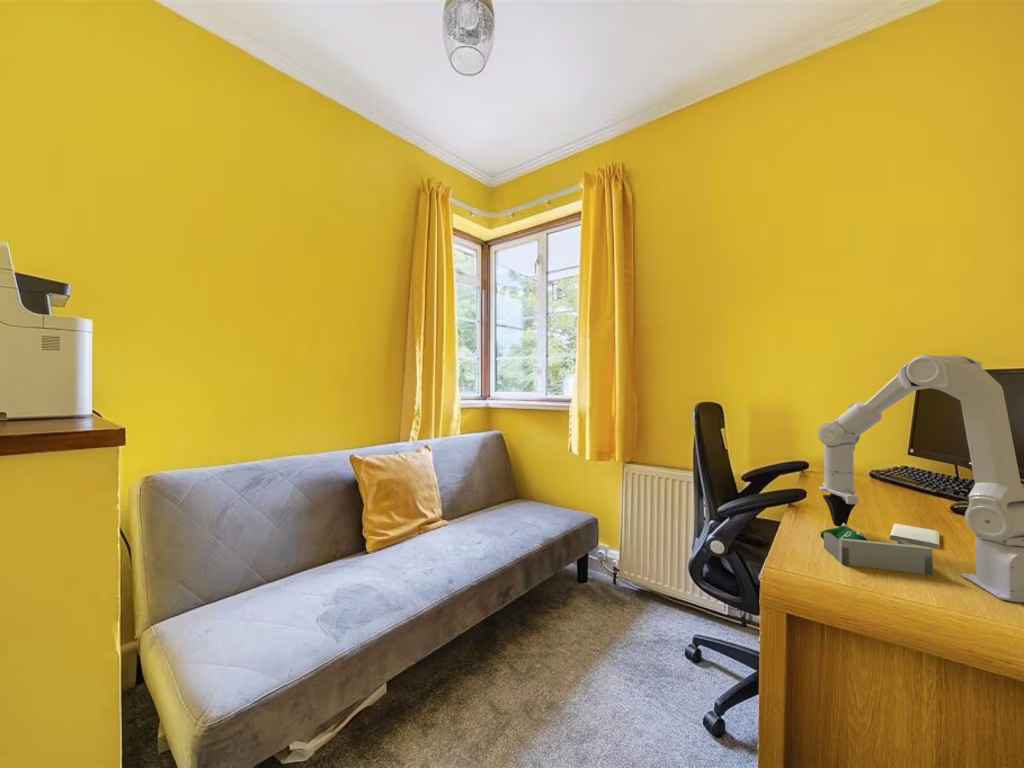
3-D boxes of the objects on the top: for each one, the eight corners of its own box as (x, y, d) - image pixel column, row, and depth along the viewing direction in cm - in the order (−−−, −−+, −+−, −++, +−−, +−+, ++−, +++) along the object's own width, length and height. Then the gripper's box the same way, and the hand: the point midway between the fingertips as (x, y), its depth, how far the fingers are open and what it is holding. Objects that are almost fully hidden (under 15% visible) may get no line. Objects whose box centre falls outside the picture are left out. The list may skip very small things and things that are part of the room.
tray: (932, 575, 77) (932, 549, 77) (841, 564, 82) (841, 540, 82) (904, 556, 86) (904, 532, 86) (824, 547, 91) (823, 525, 91)
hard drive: (939, 544, 90) (939, 530, 98) (889, 534, 96) (893, 522, 104) (939, 551, 90) (939, 537, 98) (889, 541, 96) (893, 528, 104)
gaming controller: (853, 561, 88) (876, 543, 87) (839, 548, 88) (861, 530, 88) (829, 545, 97) (849, 529, 96) (816, 533, 97) (836, 517, 97)
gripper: (809, 464, 108) (809, 515, 108) (831, 475, 94) (832, 533, 94) (840, 466, 105) (841, 518, 105) (868, 478, 92) (869, 537, 92)
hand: (839, 525), depth 99 cm, fingers closed
